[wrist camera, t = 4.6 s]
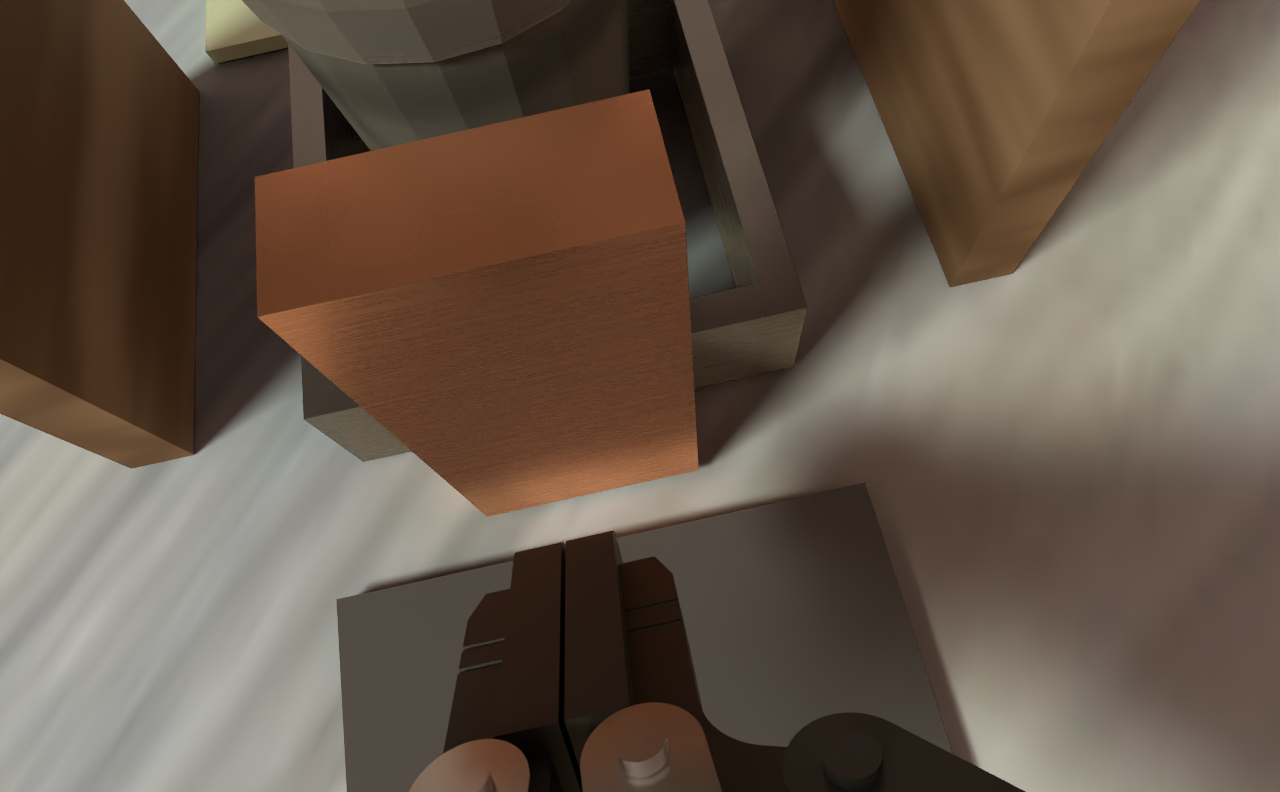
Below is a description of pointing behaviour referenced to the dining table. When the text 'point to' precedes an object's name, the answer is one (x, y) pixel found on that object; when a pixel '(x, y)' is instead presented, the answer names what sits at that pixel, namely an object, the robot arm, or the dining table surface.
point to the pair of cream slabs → (237, 32)
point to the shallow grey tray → (526, 280)
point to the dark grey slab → (715, 625)
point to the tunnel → (168, 179)
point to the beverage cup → (454, 59)
